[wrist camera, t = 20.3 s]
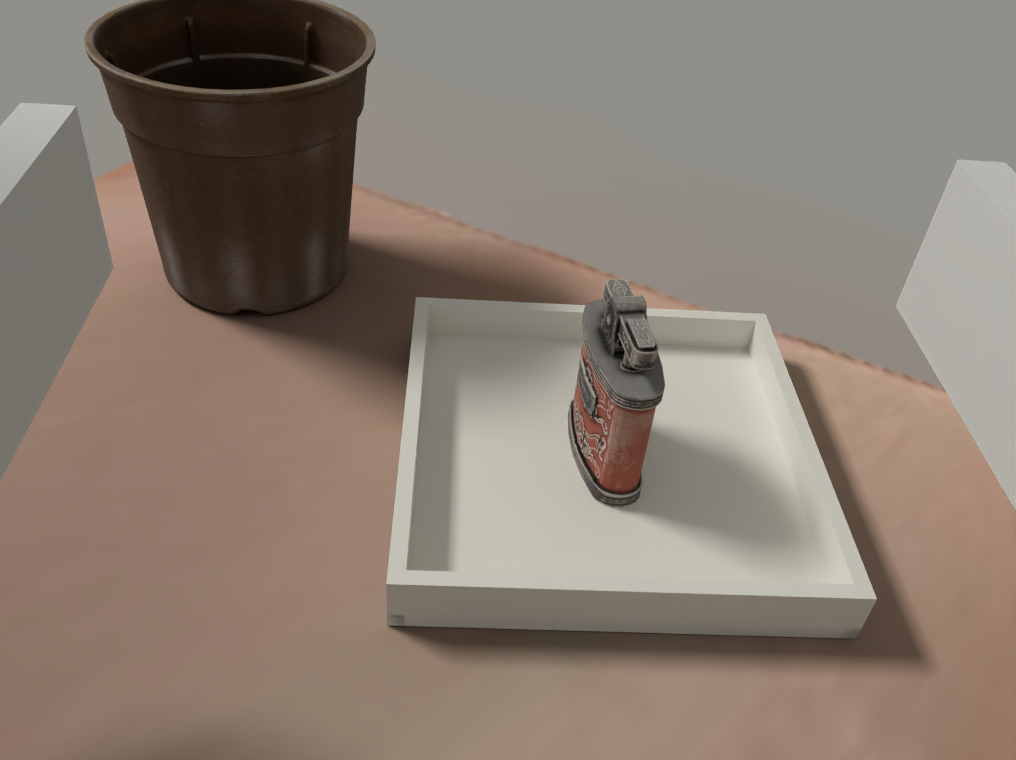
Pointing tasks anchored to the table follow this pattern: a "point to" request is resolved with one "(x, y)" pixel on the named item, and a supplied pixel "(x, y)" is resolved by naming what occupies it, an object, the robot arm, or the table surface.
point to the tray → (602, 529)
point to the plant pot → (240, 140)
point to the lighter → (615, 395)
